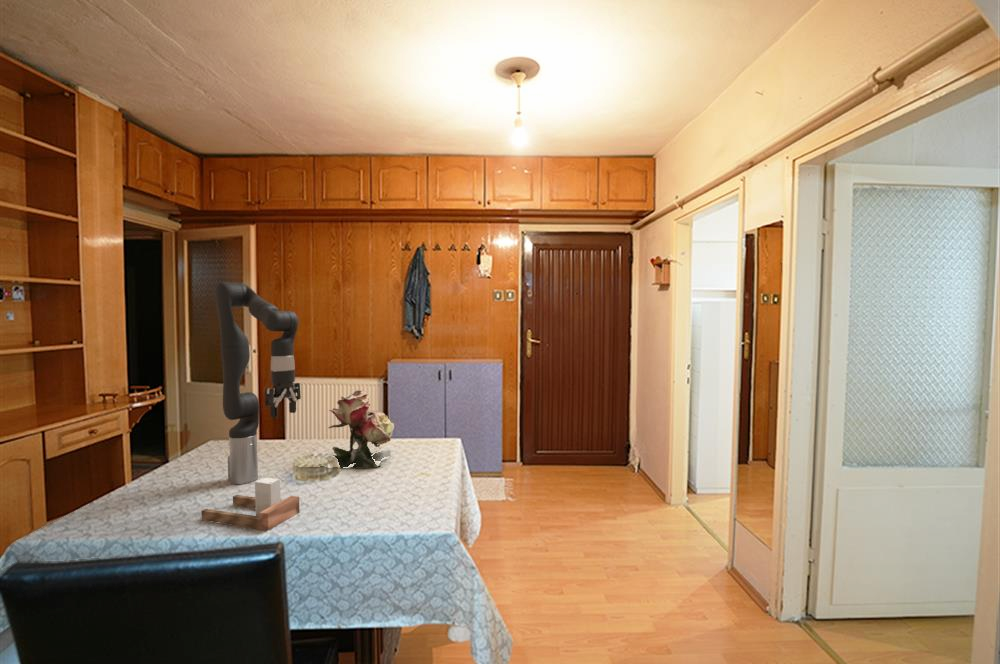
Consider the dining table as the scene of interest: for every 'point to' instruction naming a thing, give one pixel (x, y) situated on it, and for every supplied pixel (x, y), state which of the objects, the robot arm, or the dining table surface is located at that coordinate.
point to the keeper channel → (264, 522)
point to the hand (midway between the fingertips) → (283, 415)
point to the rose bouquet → (361, 430)
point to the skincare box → (266, 494)
